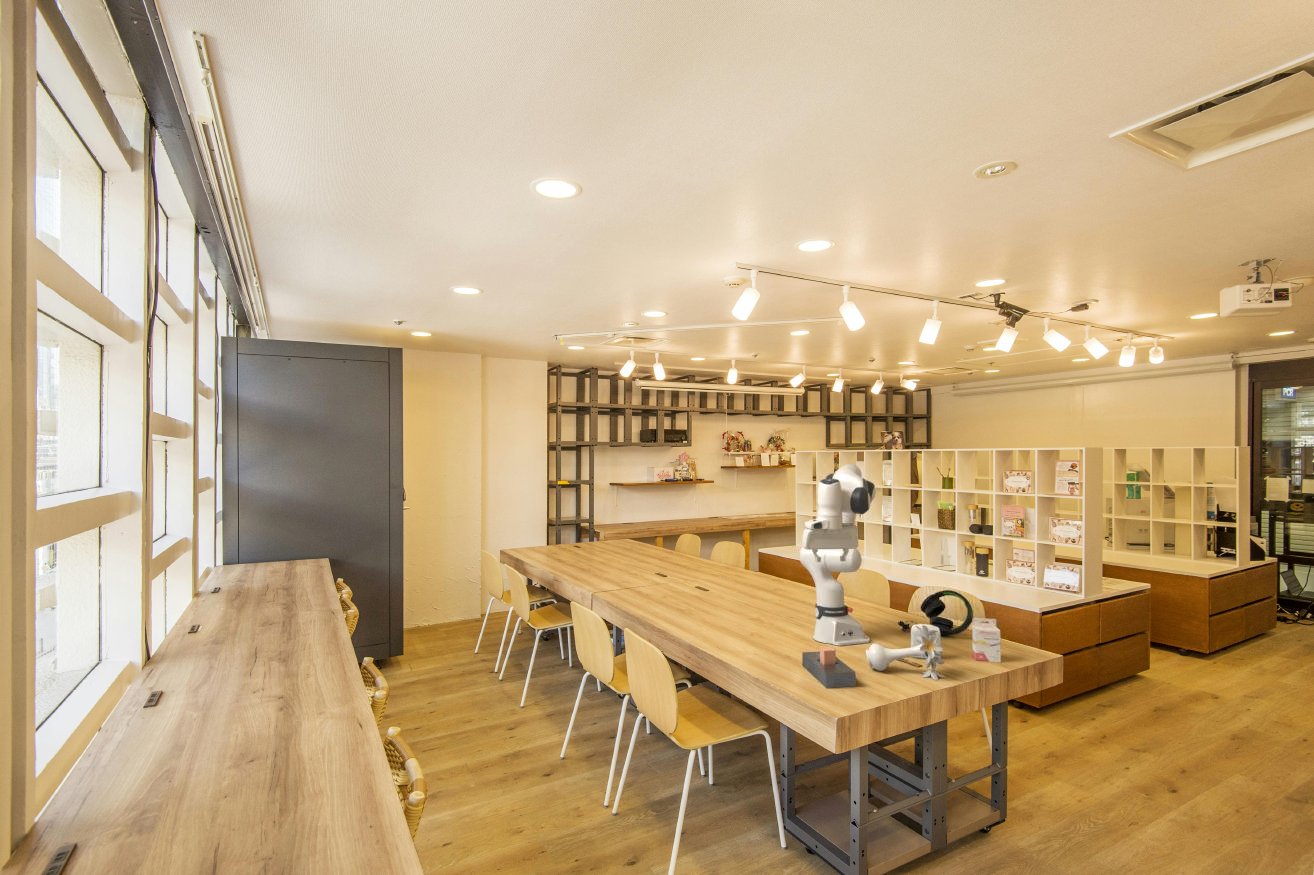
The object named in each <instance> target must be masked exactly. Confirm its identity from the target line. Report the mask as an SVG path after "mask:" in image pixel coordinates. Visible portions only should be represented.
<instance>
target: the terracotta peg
mask: <svg viewBox="0 0 1314 875" xmlns="http://www.w3.org/2000/svg"><path fill="white" fill-rule="evenodd" d="M819 652H820V663H821V664H823V665H828V664H836V657H837V656H836V649H834V648H833V647H832V646H820V647H819Z"/></svg>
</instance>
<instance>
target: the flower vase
mask: <svg viewBox="0 0 1314 875" xmlns="http://www.w3.org/2000/svg"><path fill="white" fill-rule="evenodd" d="M916 627H917V628H918V629H919V630H920V631H921V632H922V633H923V636H922V638H921V637H916V641H917V642H919V643H921V644H920V645H917V646H914V647H911V646H910V647H904V648H888V647H885V646H883V645H882V644H880V643H875V642H873V643H872V644H871V645H870V646H869V647H868V649H867V648H866V649H865V655H866V660H867V662H868V666H869V667H870V668H873V669H874V670H876V671H878V672H883V671H885V670H886V669H887V667H888V666H889V665H890V664H891V663H893V662H894V661H897V660H901V659H905V658H910V657H911V658H913V657H912V656H923V657H926V656H927V657H928V658H927V659H926V658H925V660H924V663H925V666H926V668H927V669H928V668H929V667H931V669H928V670H926V671H924V672H923V671H922V675H921V677H922V678H928V677H931V679H933V680H935V681H937V680H939V678H944V679H945V678H946V676H945V675H943V674H941V673H939V672H938V671H937V670H936V669H937V664H938V665H945V660H944V659H943V658H942V656H943V655H944V653H943V647H942V646H941V645H940V646H941V647H940V646H938V645H934V644H935V643H936V642H937V641H938V638H937V636H932V635H937V634H935V633H936V632H938V631H936V630H930V631H929V632H928V628H927V627H926V626H925V625H922V629H921V628H920V627H918V626H916ZM922 630H923V631H922ZM930 635H931V638H930V639H929V636H930ZM927 651H928V652H927ZM936 651H937V652H936ZM939 656H941V658H939Z"/></svg>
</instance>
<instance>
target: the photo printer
mask: <svg viewBox="0 0 1314 875" xmlns="http://www.w3.org/2000/svg"><path fill="white" fill-rule="evenodd" d="M922 625H925V626H926V627H927V628H928V632H929V631H930V630H936V631H938V632H936V633H935V634H937V635H932V636H937V638H938V641H937V642H936V643H935V644H934V645H938V646H940V647H941V648H942V646H941V637H942V636H941V635H940V630H939V628H938V627H936V626H933V625H931V624H927V623H917V624H913V625H912V626H911V628H910V647H914V646H917V645H920V644H921V643H919V642H917V641H916V637H921V638H922V636H923V633H922V632H921V631H920V630H919V629H918V628H917V627H916V626H918V627H920V628H921V629H922ZM922 631H923V630H922ZM930 638H931V635H930V636H929V639H930ZM927 652H928V651H927ZM936 652H937V651H936ZM911 658H917V659H925V660H926V659H927V658H928V657H927V656H926V657H923V656H912V657H911ZM939 658H941V659H942V655H941V656H939Z"/></svg>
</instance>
